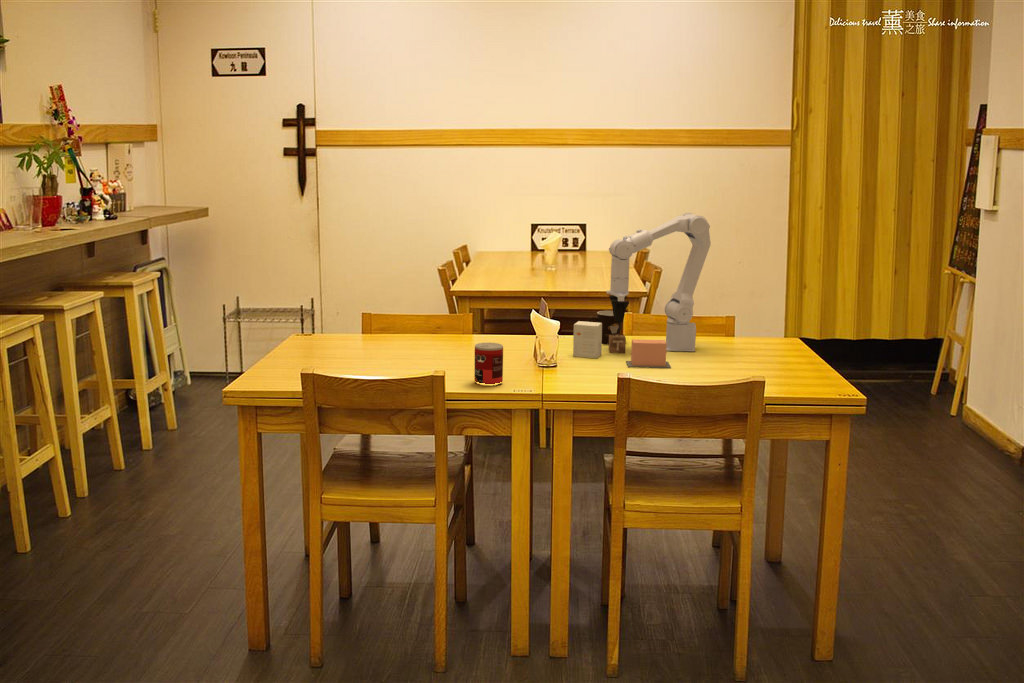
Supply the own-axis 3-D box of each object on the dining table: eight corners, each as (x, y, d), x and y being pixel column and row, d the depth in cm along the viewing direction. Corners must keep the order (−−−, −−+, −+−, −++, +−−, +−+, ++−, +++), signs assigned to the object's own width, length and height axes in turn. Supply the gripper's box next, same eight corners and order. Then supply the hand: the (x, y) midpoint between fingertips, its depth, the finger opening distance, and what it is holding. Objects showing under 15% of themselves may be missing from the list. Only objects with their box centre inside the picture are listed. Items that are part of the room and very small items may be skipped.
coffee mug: (621, 340, 351) (623, 311, 349) (622, 345, 343) (623, 316, 341) (587, 338, 352) (588, 309, 350) (586, 344, 344) (587, 314, 342)
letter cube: (623, 350, 337) (624, 334, 336) (625, 353, 332) (625, 337, 331) (608, 349, 337) (609, 334, 336) (609, 353, 332) (610, 337, 331)
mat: (667, 362, 321) (667, 361, 320) (671, 368, 314) (671, 366, 314) (625, 361, 321) (625, 360, 321) (628, 367, 314) (628, 366, 314)
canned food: (473, 379, 297) (474, 342, 294) (501, 379, 297) (502, 342, 295) (475, 386, 289) (475, 348, 287) (503, 386, 290) (504, 348, 287)
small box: (601, 355, 329) (602, 322, 327) (597, 358, 324) (598, 325, 322) (577, 352, 332) (578, 320, 330) (572, 356, 327) (573, 323, 324)
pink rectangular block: (663, 362, 320) (664, 339, 318) (665, 366, 315) (666, 343, 313) (630, 361, 320) (631, 339, 318) (632, 365, 315) (633, 342, 313)
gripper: (605, 273, 337) (603, 315, 340) (609, 281, 323) (607, 323, 325) (627, 274, 337) (625, 315, 340) (631, 281, 322) (629, 324, 325)
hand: (618, 319), depth 333 cm, fingers open, 7 cm apart
